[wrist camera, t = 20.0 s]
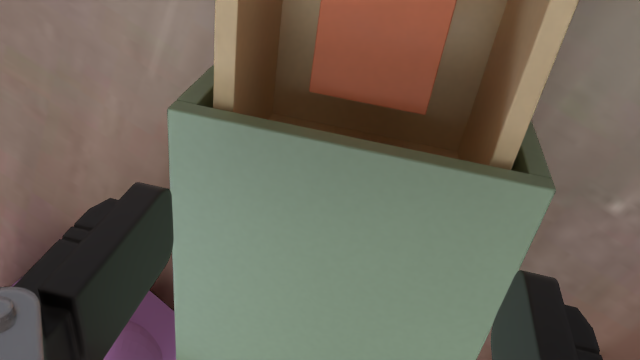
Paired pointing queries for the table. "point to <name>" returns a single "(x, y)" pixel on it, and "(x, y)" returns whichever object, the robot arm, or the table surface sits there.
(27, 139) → the table surface
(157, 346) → the teapot
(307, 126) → the drawer
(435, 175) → the cabinet
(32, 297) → the robot arm
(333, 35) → the block
